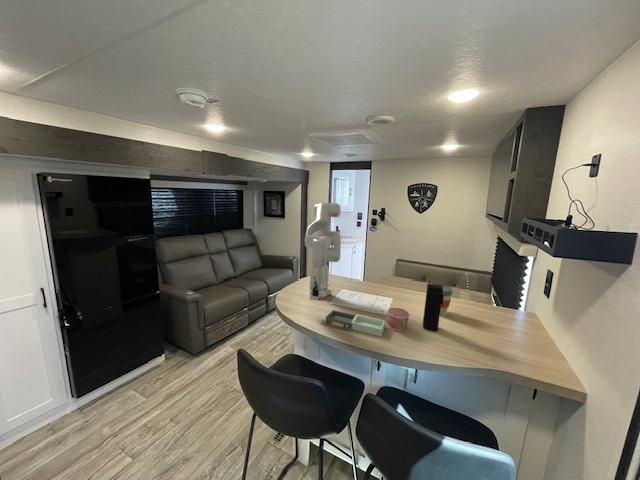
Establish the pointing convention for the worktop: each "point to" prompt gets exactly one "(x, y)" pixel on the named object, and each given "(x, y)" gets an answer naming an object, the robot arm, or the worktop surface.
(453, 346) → the worktop surface
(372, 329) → the trough
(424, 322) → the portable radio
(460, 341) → the worktop surface
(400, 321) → the container
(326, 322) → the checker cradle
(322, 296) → the ink box
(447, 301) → the reusable coffee cup
